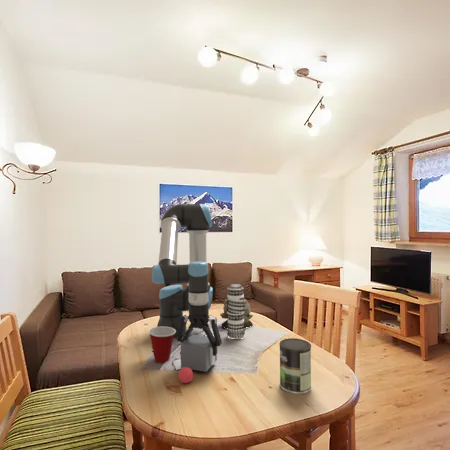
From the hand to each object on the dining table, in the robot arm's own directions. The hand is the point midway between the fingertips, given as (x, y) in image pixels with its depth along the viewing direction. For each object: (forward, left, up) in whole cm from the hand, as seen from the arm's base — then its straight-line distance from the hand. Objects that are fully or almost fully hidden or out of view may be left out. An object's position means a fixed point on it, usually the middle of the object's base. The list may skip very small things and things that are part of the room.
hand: (199, 361), depth 119 cm
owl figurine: (-52, -2, -3) cm, 52 cm away
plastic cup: (-2, -17, -2) cm, 17 cm away
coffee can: (+2, +36, -2) cm, 36 cm away
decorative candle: (-36, +3, -2) cm, 36 cm away
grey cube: (0, 0, -1) cm, 1 cm away
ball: (+12, 0, 0) cm, 12 cm away
